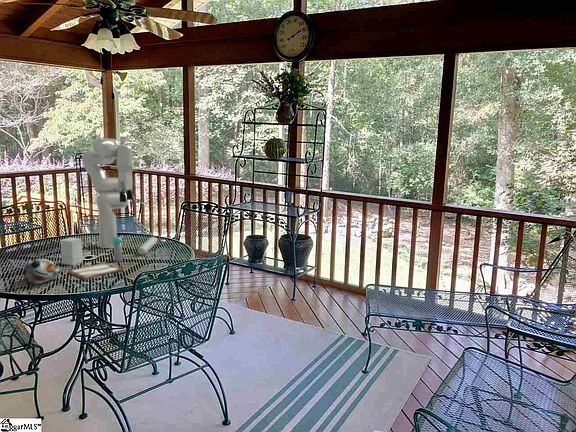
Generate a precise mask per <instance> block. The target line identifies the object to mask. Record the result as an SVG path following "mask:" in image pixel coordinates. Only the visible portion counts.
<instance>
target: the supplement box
mask: <svg viewBox="0 0 576 432" xmlns="http://www.w3.org/2000/svg"><path fill="white" fill-rule="evenodd" d="M60 253H61V254H60V255H61V264H62V265H67V266H76V265H79V264H81V263H83V259H84V258H83V241H82V238H76V237H68V238H64V239H61V240H60Z"/></svg>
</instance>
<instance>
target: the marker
mask: <svg viewBox="0 0 576 432" xmlns="http://www.w3.org/2000/svg"><path fill="white" fill-rule="evenodd" d="M113 243H114V248H113V258H114V260H113V261H114V262H117V263H119V262H120V263H121V262H122V261H123V247H122V246H123V239H122V237H120V236H118V237H115V238H113Z"/></svg>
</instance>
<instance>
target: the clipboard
mask: <svg viewBox="0 0 576 432" xmlns="http://www.w3.org/2000/svg"><path fill="white" fill-rule="evenodd" d="M115 272H119V273H122V272H125V271H124V269H123V268H121V267H119V266H118V265H117V264H115V263H112V262H111V263H109V262H103V263H99V264H98V263H97V264H93V265H88V266H84V267H78V268H75V269H71V270H70V269H69V270H68V272H67V273H68V274H70V275H73V276H75V277H77V278H80V279H82V280H84V281H87V280H88V279H89V280H92V279H91V278H93V279H95V278H94V277H97V278H99V277H98V276H101V277H103V276H102V275H106V274H109V273H114V274H116V273H115ZM106 276H107V275H106Z"/></svg>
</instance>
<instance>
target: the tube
mask: <svg viewBox="0 0 576 432" xmlns="http://www.w3.org/2000/svg"><path fill="white" fill-rule="evenodd" d="M157 243H158V238H157V237H155V236H150V237H149V238H148V239H147V241H145V242H143V244H142V245H141V246H139V248H138V249H137V254H138V255H140V256H145V255H146V254H147V253H149V251H151V250H152V248H153V247H154V246H155V245H157Z"/></svg>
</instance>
